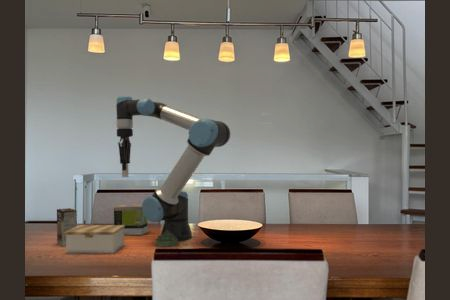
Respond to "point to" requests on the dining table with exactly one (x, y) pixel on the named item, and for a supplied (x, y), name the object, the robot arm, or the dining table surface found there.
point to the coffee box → (65, 223)
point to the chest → (94, 243)
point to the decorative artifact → (166, 240)
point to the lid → (94, 230)
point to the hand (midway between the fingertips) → (125, 177)
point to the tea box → (131, 219)
